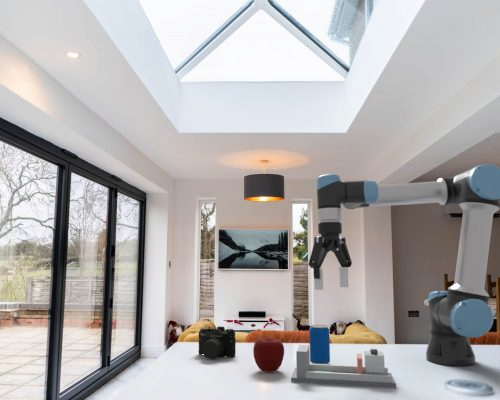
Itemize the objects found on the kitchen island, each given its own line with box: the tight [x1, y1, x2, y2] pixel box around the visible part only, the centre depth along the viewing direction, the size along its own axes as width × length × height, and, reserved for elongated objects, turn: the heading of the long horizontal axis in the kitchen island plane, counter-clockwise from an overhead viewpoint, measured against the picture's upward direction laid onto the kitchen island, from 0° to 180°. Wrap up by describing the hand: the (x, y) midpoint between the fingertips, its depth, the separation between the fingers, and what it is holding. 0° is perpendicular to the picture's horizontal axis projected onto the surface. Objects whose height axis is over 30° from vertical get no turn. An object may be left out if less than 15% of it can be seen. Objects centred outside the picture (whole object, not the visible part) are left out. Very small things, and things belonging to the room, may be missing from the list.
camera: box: [198, 326, 237, 360], centre depth 153 cm, size 14×11×10 cm
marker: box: [356, 353, 364, 374], centre depth 124 cm, size 1×6×5 cm, turn 168°
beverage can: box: [309, 324, 331, 365], centre depth 144 cm, size 6×6×12 cm
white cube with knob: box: [363, 348, 386, 375], centre depth 123 cm, size 5×6×7 cm
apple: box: [252, 337, 285, 373], centre depth 134 cm, size 10×10×10 cm
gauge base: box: [290, 344, 397, 389], centre depth 125 cm, size 28×11×8 cm, turn 79°
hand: (332, 288), depth 139 cm, fingers open, 13 cm apart
